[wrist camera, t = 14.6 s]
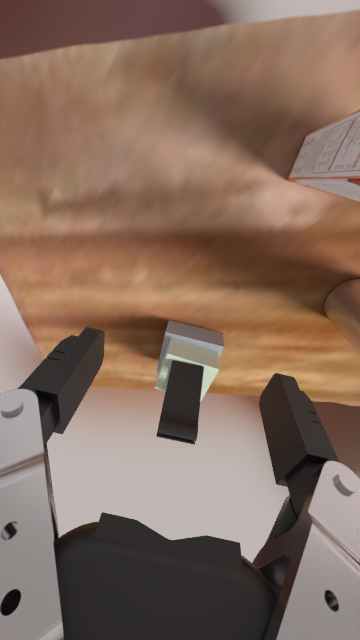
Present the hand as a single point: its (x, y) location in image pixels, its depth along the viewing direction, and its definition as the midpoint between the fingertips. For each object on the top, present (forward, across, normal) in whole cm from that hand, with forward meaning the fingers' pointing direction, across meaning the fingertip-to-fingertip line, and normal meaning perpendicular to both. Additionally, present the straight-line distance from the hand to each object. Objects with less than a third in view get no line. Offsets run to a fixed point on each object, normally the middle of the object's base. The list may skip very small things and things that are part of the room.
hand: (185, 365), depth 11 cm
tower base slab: (+34, -4, +26) cm, 42 cm away
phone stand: (+24, -4, +26) cm, 35 cm away
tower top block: (+29, -4, +26) cm, 39 cm away
